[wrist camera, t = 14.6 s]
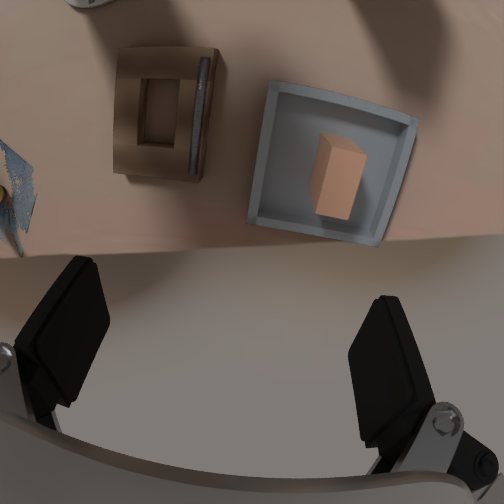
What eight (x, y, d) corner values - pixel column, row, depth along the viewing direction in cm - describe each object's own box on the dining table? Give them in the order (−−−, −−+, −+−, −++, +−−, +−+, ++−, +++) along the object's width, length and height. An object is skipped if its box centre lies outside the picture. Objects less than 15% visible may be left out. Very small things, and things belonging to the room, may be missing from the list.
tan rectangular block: (320, 131, 29) (332, 146, 23) (349, 138, 29) (367, 155, 23) (308, 185, 32) (315, 213, 26) (335, 191, 32) (347, 220, 26)
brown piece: (127, 48, 25) (116, 47, 23) (218, 49, 25) (213, 47, 23) (121, 167, 33) (111, 174, 31) (203, 177, 33) (197, 184, 31)
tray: (270, 79, 27) (269, 79, 25) (410, 115, 27) (419, 119, 25) (248, 213, 35) (246, 223, 33) (372, 236, 35) (378, 247, 33)
